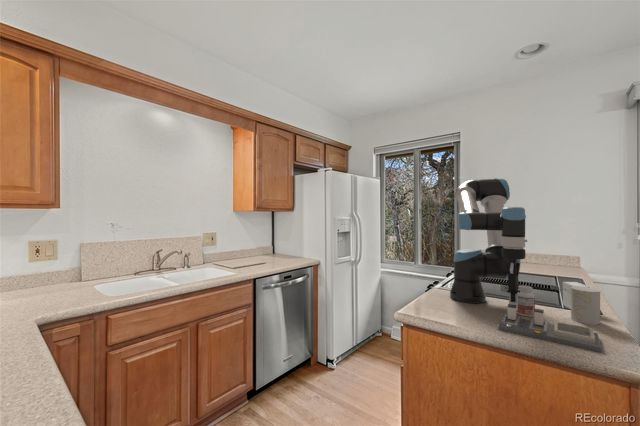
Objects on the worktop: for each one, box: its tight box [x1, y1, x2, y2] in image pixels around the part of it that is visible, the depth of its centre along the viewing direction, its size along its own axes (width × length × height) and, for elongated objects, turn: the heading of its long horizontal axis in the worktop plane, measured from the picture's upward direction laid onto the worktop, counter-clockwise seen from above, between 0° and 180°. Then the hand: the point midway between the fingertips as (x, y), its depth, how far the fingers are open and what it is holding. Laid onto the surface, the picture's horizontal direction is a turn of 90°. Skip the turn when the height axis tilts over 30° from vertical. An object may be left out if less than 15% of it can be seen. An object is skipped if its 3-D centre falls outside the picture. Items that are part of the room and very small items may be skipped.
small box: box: [562, 281, 590, 310], centre depth 121 cm, size 8×6×10 cm
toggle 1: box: [507, 303, 517, 320], centre depth 106 cm, size 2×2×5 cm
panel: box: [497, 312, 603, 353], centre depth 97 cm, size 26×13×3 cm, turn 50°
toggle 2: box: [533, 308, 545, 326], centre depth 101 cm, size 2×2×5 cm
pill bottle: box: [516, 284, 536, 317], centre depth 115 cm, size 6×6×11 cm
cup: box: [570, 286, 601, 326], centre depth 108 cm, size 8×8×12 cm
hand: (513, 309), depth 109 cm, fingers closed
